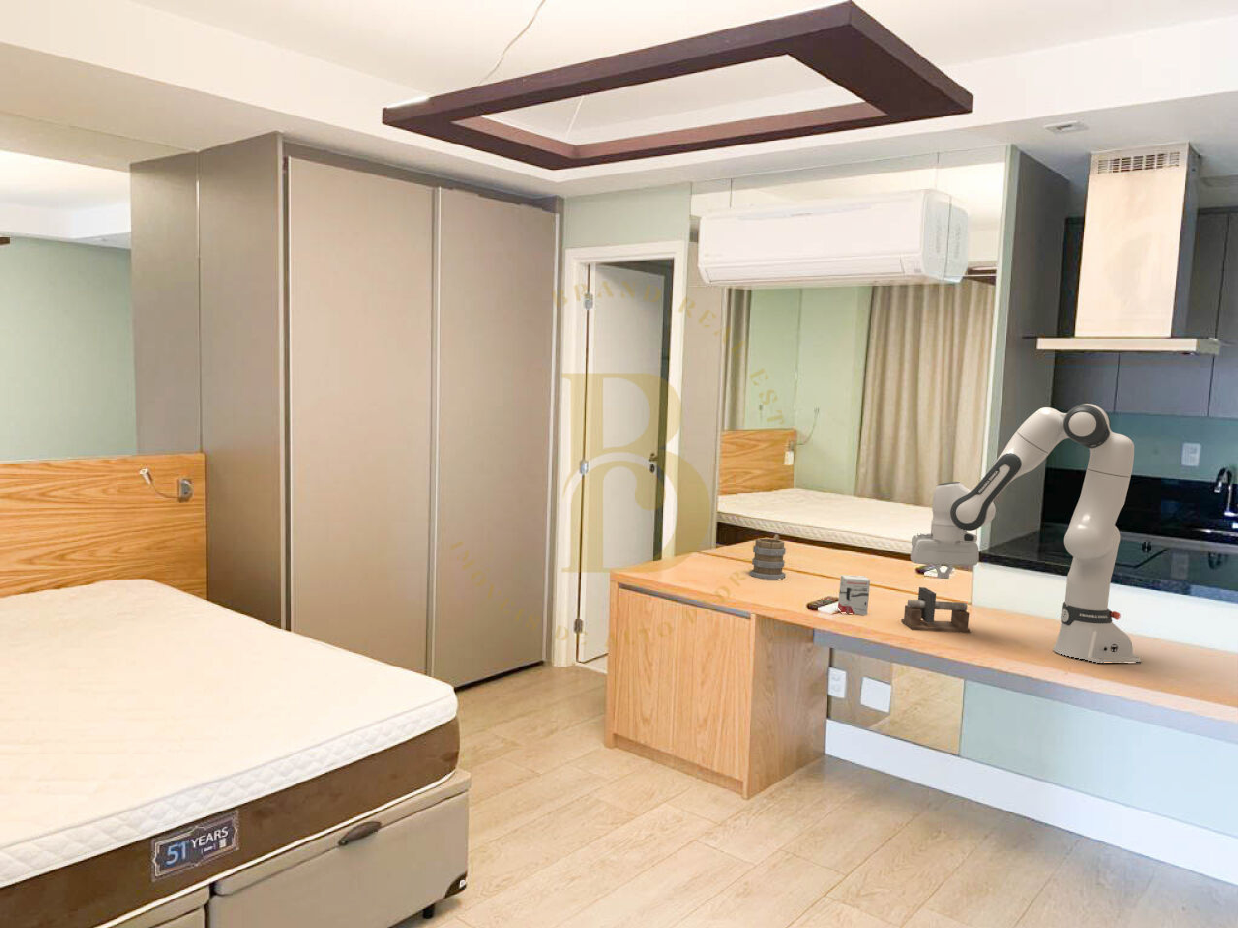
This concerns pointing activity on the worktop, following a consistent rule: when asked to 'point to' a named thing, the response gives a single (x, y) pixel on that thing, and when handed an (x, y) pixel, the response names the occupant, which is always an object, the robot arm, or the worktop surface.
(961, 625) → the pipe stand
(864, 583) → the ink box
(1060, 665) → the worktop surface
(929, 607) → the dark grey flat slab
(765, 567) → the tankard
